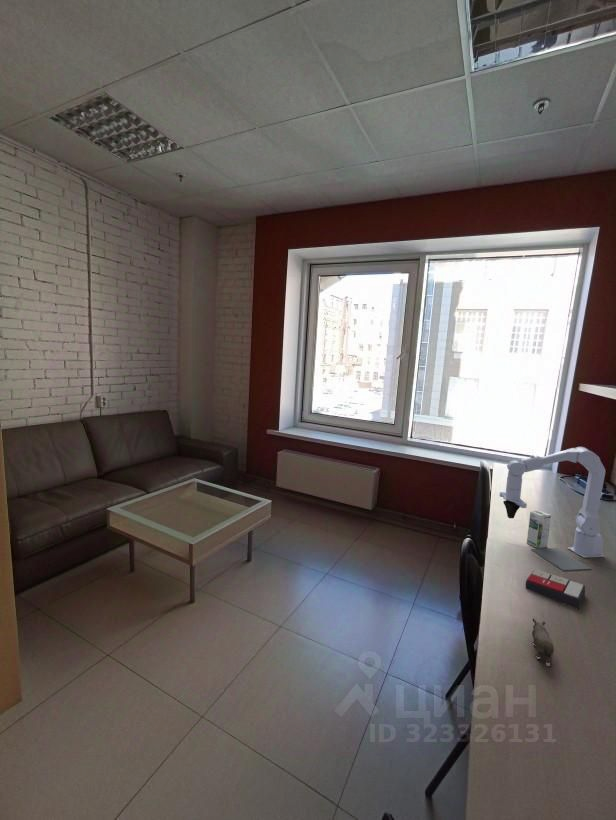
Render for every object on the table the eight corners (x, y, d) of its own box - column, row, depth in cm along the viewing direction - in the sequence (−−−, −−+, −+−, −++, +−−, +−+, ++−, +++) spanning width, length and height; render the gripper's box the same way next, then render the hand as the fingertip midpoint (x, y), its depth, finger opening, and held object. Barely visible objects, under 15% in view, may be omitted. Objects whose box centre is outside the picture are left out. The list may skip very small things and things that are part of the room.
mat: (556, 548, 154) (556, 548, 154) (590, 569, 138) (591, 568, 138) (531, 549, 152) (531, 549, 152) (563, 570, 137) (563, 569, 137)
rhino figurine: (543, 633, 103) (545, 613, 102) (554, 669, 90) (557, 647, 90) (526, 629, 105) (529, 609, 104) (535, 663, 92) (538, 641, 91)
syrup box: (525, 542, 159) (529, 511, 157) (535, 541, 161) (538, 509, 159) (538, 549, 153) (542, 516, 152) (548, 547, 156) (551, 514, 154)
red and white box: (534, 567, 132) (585, 583, 121) (533, 578, 132) (584, 595, 122) (525, 578, 124) (579, 597, 114) (525, 591, 125) (578, 610, 114)
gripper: (494, 482, 166) (491, 511, 167) (517, 493, 151) (513, 524, 153) (508, 482, 167) (505, 511, 168) (532, 493, 152) (529, 524, 154)
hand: (510, 517), depth 161 cm, fingers closed
